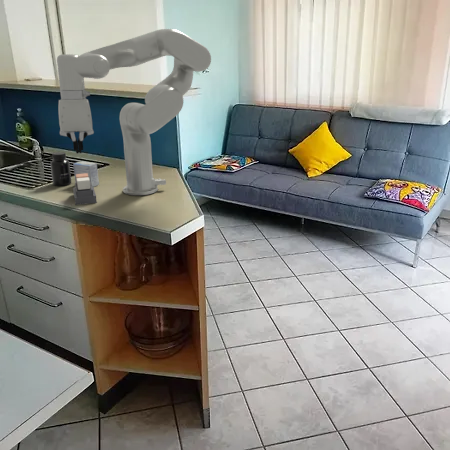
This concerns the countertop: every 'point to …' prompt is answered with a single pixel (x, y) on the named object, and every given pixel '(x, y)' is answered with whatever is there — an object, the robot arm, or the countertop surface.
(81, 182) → the ivory key
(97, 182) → the medicine box
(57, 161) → the supplement bottle
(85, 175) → the terracotta key
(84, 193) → the key panel
